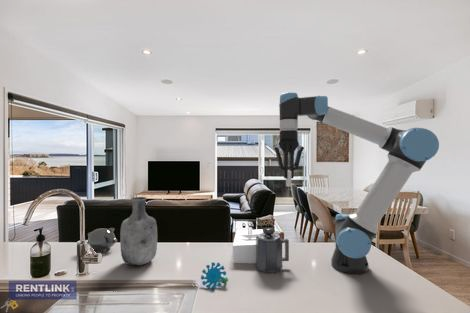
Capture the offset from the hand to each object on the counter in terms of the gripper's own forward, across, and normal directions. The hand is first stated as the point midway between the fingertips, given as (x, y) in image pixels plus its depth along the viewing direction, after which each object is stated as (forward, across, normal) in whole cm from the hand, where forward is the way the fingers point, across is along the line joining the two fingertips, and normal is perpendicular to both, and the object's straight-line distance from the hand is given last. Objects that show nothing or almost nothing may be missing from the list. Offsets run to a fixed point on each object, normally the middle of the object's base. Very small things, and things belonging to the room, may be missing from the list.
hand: (288, 186), depth 113 cm
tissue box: (+37, +14, -21) cm, 44 cm away
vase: (+37, +66, -16) cm, 77 cm away
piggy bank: (+37, +89, -33) cm, 102 cm away
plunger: (+33, +8, -3) cm, 34 cm away
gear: (+37, +32, +8) cm, 49 cm away
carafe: (+36, +6, -3) cm, 36 cm away
